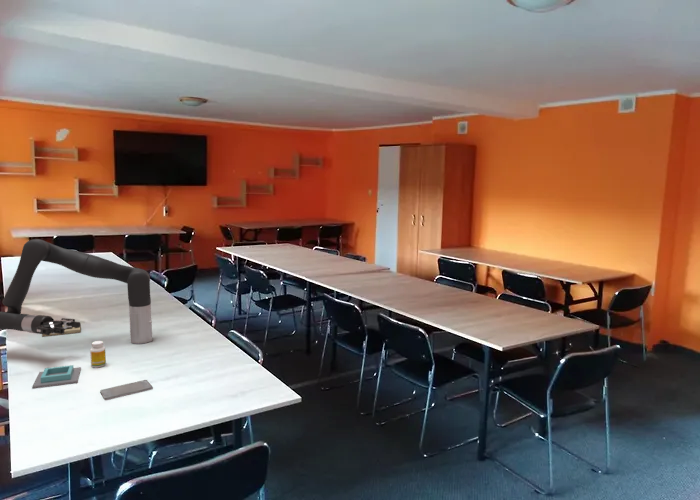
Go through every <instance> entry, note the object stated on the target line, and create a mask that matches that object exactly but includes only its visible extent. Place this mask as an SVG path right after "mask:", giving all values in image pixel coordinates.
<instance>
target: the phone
mask: <svg viewBox="0 0 700 500" xmlns="http://www.w3.org/2000/svg"><path fill="white" fill-rule="evenodd" d="M150 390H151V391H152V390H153V385H152V384H151V383H150V382H149V380H148V379H144V380H139V381H135V382H134V381H133V382H129V383H125V384H121V385H117V386H111V387H108V388H103V389H101V390H100V391H99V393H100V395H102V398H103V399H104V401H108V400H113V399H117V398H122V397H124V396H125V397H127V396H130V395H134V394H138V393H142V392H147V391H150Z"/></svg>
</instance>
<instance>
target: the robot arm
mask: <svg viewBox="0 0 700 500" xmlns="http://www.w3.org/2000/svg"><path fill="white" fill-rule="evenodd" d="M41 262H47V263H51V264H54V265H55V264H56V265H59V266H61V267H65V269H67V270H71V271H72V272H76V273H79V274H81V275H84V276H88V277H92V278H97V279H106V280H108V279H109V280H115V281H119V282H122V283H124V284H126V286H127V298H128V299H127V300H128V311H129V312H128V313H129V333H130V335H129V336H130V337H129V338H130V339H129V340H130V343H132V344H139V345H140V344H146V343H150V342H153V324H152V322H153V321H152V304H151V303H152V301H151V298H152V297H151V282H150V281H151V276H150V274H149V272H148V271H147V270H145V269H143V268H138V267H133V266H130V265H129V266H127V265H123V264H120V263H117V262H114V261H112V260H109V259H105V258H104V257H100V256H97V255H93V254H91V253H86V252H82V251H78V250H73V249H67V248H65V247H64V248H63V247H61V246H58V245H55V244H53V243H50V242H48V241H46V240H43V239H40V238H37V239H36V238H35V239H30V240H28V241H26V242H25V243H24V244H23V247H22V250H21V255H20V257H19V262H18V266H17V268H16V271H15V273H14V275H13V278H12V280H11V282H10V284H9V286H8V288H7V290H6V292H5V294H4V297H3V298H2V301H1V303H2V305H3V306H5V307H7V311H0V330H13V331H14V330H15V331H19V332H27V333H31V334H37V335H38V334H39V335H42V334H45V335H50V333H52V334H54V333H59V334H63V333H64V329H66V328H67V327H76V328H79V327H81V328H82V325H80V324H81V322H80V321H76V319H75V318H66V317H62V318H61V319H54V318H53V317H52V316H50V315H44V314H43V315H42V314H28V313H22V308H23V307H22V305H23V303H24V301H25V299H26V298H27V294H28V292H29V290H30V287H31V283H32V279H33V276H34V274H35V272H36V269H38V267H39V265H40V263H41ZM63 325H64V327H62V326H63Z"/></svg>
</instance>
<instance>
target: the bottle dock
mask: <svg viewBox="0 0 700 500" xmlns="http://www.w3.org/2000/svg"><path fill="white" fill-rule="evenodd" d="M81 371H82V367H81V366H80V367H79V366H77V367H74V364H73V365H71V364H70V365H65V366H64V365H62V366H53V367H46V368H44V369H43V371H39V372H38V374H37V376H36V378H35V380H34V382H33V385H32V386H31V387H32V389H41V388H47V387H55V386H56V387H57V386H64V385H73V384H77V383H78V381H79V377H80V375H81Z"/></svg>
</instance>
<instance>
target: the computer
mask: <svg viewBox="0 0 700 500" xmlns="http://www.w3.org/2000/svg"><path fill="white" fill-rule="evenodd" d="M81 324H82V323H80V325H81ZM62 327H64V325H63V326H62ZM81 330H82V325H81V327H79V328H76V327H67V328H66V329H64V333H63V334H59V333H54V334H52V333H50V335H45V334H41V336H42V338H43V337H44V338H45V337H52V336H53V337H55V336H62V335H72V334H73V335H74V334H80V333H81V332H82V331H81Z"/></svg>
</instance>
